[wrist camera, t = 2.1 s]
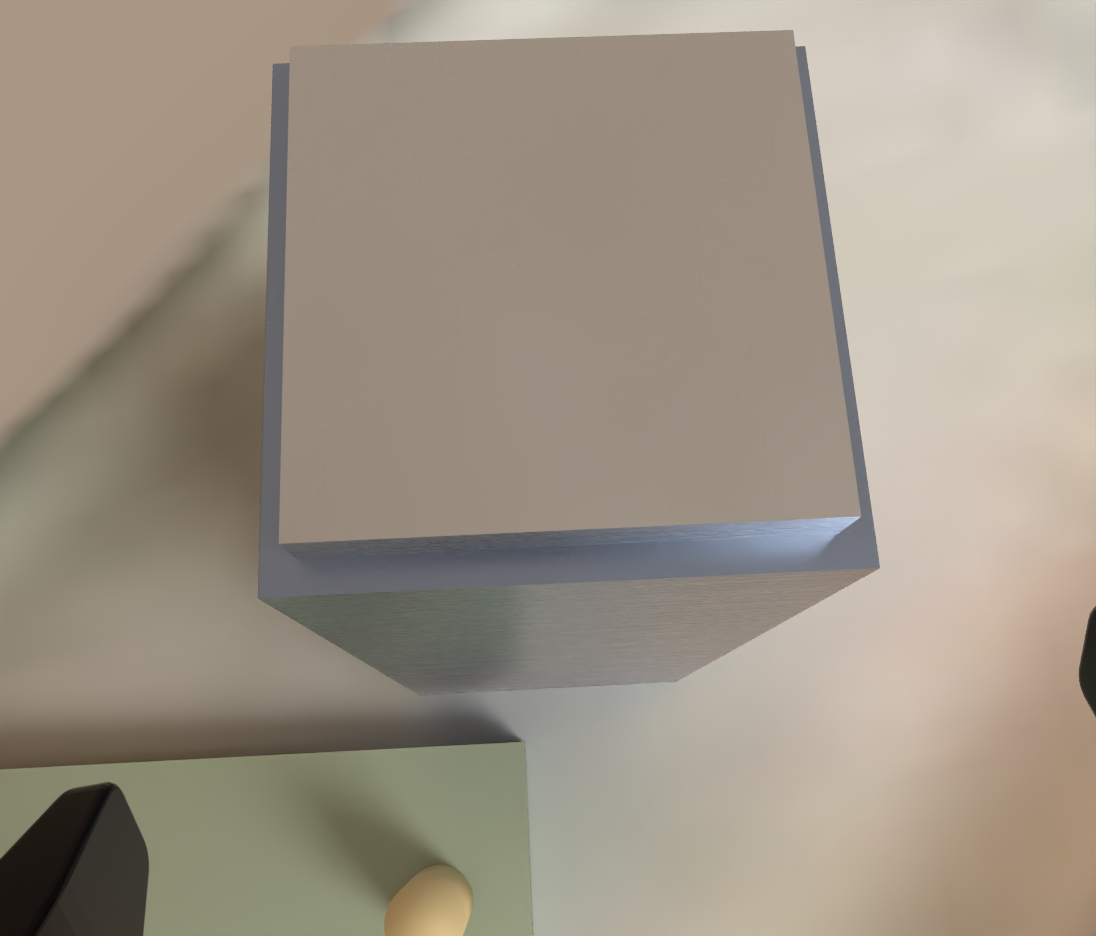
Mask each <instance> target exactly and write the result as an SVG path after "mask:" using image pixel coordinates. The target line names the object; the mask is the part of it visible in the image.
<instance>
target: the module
mask: <svg viewBox="0 0 1096 936" xmlns="http://www.w3.org/2000/svg"><path fill="white" fill-rule="evenodd" d="M272 80H273V81H272V115H271V150H270V186H269V222H268V258H267V294H266V330H265V366H264V401H263V437H262V473H261V509H260V545H259V581H258V598H259V599H260V600H262V601H264V602H265V603H267V604H269V605H270V606H272V607H274V608H275V609H277V610H279V611H280V612H282V613H284V614H285V615H287V616H289V617H290V618H292V619H294V620H295V621H297V622H299V623H300V624H302V625H304V626H305V627H307V628H309V629H310V630H312V631H314V632H315V633H317V634H319V635H320V636H322V637H324V638H325V639H327V640H329V641H330V642H332V643H334V644H335V645H337V646H339V647H340V648H342V649H344V650H345V651H347V652H349V653H350V654H352V655H354V656H355V657H357V658H359V659H360V660H362V661H364V662H365V663H367V664H369V665H370V666H372V667H374V668H375V669H377V670H379V671H380V672H382V673H384V674H385V675H387V676H389V677H390V678H392V679H394V680H395V681H397V682H399V683H400V684H402V685H404V686H405V687H407V688H409V689H410V690H412V691H414V692H415V693H417V694H419V695H421V694H441V693H460V692H480V691H499V690H519V689H538V688H558V687H577V686H597V685H616V684H636V683H655V682H675V681H678V680H680V679H682V678H684V677H685V676H687V675H689V674H691V673H693V672H694V671H696V670H698V669H700V668H702V667H703V666H705V665H707V664H709V663H711V662H712V661H714V660H716V659H718V658H720V657H721V656H723V655H725V654H727V653H728V652H730V651H732V650H734V649H736V648H737V647H739V646H741V645H743V644H745V643H746V642H748V641H750V640H752V639H754V638H755V637H757V636H759V635H761V634H763V633H764V632H766V631H768V630H770V629H772V628H773V627H775V626H777V625H779V624H780V623H782V622H784V621H786V620H788V619H789V618H791V617H793V616H795V615H797V614H798V613H800V612H802V611H804V610H806V609H807V608H809V607H811V606H813V605H815V604H816V603H818V602H820V601H822V600H824V599H825V598H827V597H829V596H831V595H832V594H834V593H836V592H838V591H840V590H841V589H843V588H845V587H847V586H849V585H850V584H852V583H854V582H856V581H858V580H859V579H861V578H863V577H865V576H867V575H868V574H870V573H872V572H874V571H875V570H877V569H879V568H880V565H879V558H878V551H877V544H876V537H875V530H874V523H873V516H872V509H871V502H870V495H869V488H868V481H867V475H866V468H865V461H864V454H863V447H862V440H861V433H860V426H859V419H858V412H857V405H856V398H855V391H854V384H853V377H852V370H851V363H850V356H849V349H848V342H847V335H846V328H845V321H844V314H843V307H842V300H841V293H840V286H839V280H838V273H837V266H836V259H835V252H834V245H833V238H832V231H831V224H830V217H829V210H828V203H827V196H826V189H825V182H824V175H823V168H822V161H821V154H820V147H819V140H818V133H817V126H816V119H815V112H814V105H813V98H812V91H811V84H810V78H809V71H808V64H807V57H806V50H805V46H800V47H795V41H794V34H793V30H782V31H751V32H720V33H690V34H659V35H628V36H598V37H567V38H536V39H506V40H475V41H444V42H414V43H383V44H352V45H322V46H294V47H293V46H291V47H290V63H287V64H273V79H272Z"/></svg>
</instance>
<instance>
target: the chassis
mask: <svg viewBox="0 0 1096 936" xmlns="http://www.w3.org/2000/svg"><path fill="white" fill-rule="evenodd" d="M103 782H111V783H115V784H116V785H117V786H119V787H120V789H121V790H122V792H123V794H124V796H125V798H126V800H127V803H128V805H129V807H130V809H131V811H132V814H133V816H134V818H135V820H136V823H137V825H138V827H139V829H140V831H141V834H142V836H143V838H144V840H145V843H146V846H147V850H148V857H149V877H148V888H147V899H146V911H145V922H144V933H143V936H533V923H532V900H531V877H530V854H529V831H528V808H527V785H526V762H525V742H510V743H491V744H472V745H453V746H434V747H415V748H396V749H377V750H358V751H339V752H320V753H301V754H282V755H263V756H244V757H225V758H206V759H187V760H168V761H149V762H130V763H111V764H93V765H74V766H55V767H36V768H17V769H0V858H1V857H2V856H3V855H4V854H5V853H6V852H7V851H8V850H9V849H10V848H11V847H12V846H13V844H14V843H15V842H16V841H17V840H18V839H19V838H20V837H21V836H22V835H23V834H24V833H25V832H26V831H27V830H28V829H29V828H30V827H31V825H32V824H33V823H34V822H35V821H36V820H37V819H38V818H39V817H40V816H41V815H42V814H43V813H44V812H45V811H46V810H47V809H48V808H49V806H50V805H51V804H52V803H53V802H54V801H55V800H56V799H57V798H58V797H59V796H60V795H61V794H63V793H64V792H65V791H67V790H69V789H72V788H76V787H81V786H87V785H92V784H98V783H103Z"/></svg>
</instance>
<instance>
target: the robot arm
mask: <svg viewBox="0 0 1096 936" xmlns="http://www.w3.org/2000/svg"><path fill="white" fill-rule="evenodd" d="M1079 682H1080V686H1081V689H1082V692H1083V695H1084V697H1085V699H1086V701H1087V702H1088V704H1089V706H1090V708H1091V710H1092V711H1093V713H1094V715H1095V717H1096V606H1095V607H1094V608H1093V610H1092V611H1091V613H1090V615H1089V619H1088V624H1087V629H1086V635H1085V640H1084V645H1083V650H1082V655H1081V661H1080V666H1079ZM148 877H149V857H148V850H147V846H146V843H145V840H144V838H143V836H142V834H141V831H140V829H139V827H138V825H137V823H136V820H135V818H134V816H133V814H132V811H131V809H130V807H129V805H128V803H127V800H126V798H125V796H124V794H123V792H122V790H121V789H120V787H119V786H117V785H116V784H115V783H111V782H103V783H98V784H92V785H87V786H81V787H76V788H72V789H69V790H67V791H65V792H64V793H63V794H61V795H60V796H59V797H58V798H57V799H56V800H55V801H54V802H53V803H52V804H51V805H50V806H49V808H48V809H47V810H46V811H45V812H44V813H43V814H42V815H41V816H40V817H39V818H38V819H37V820H36V821H35V822H34V823H33V824H32V825H31V827H30V828H29V829H28V830H27V831H26V832H25V833H24V834H23V835H22V836H21V837H20V838H19V839H18V840H17V841H16V842H15V843H14V844H13V846H12V847H11V848H10V849H9V850H8V851H7V852H6V853H5V854H4V855H3V856H2V857H1V858H0V936H143V933H144V922H145V911H146V899H147V888H148Z"/></svg>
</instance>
